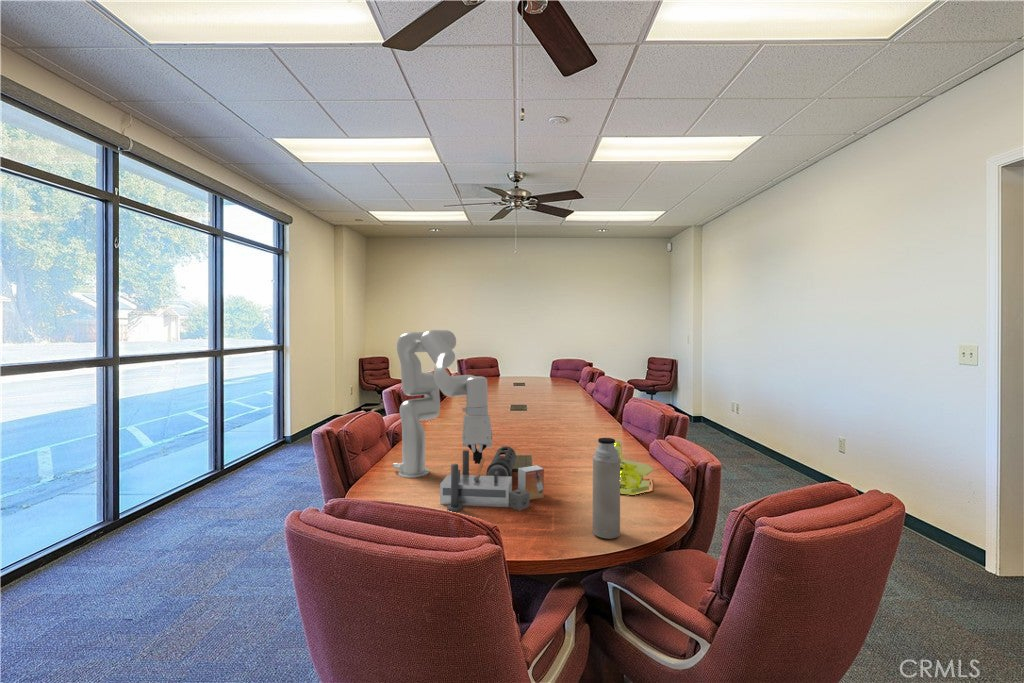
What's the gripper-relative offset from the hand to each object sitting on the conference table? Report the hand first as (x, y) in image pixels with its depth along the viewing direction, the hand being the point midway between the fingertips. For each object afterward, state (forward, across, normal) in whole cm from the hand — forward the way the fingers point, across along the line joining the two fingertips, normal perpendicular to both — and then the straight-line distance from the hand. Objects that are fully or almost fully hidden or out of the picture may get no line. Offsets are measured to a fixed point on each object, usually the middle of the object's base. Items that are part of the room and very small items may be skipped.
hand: (477, 462), depth 156 cm
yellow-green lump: (+14, +56, +24) cm, 62 cm away
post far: (+13, -7, +10) cm, 18 cm away
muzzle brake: (+14, +5, +25) cm, 29 cm away
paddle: (+5, 0, 0) cm, 5 cm away
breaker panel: (+13, -1, +1) cm, 13 cm away
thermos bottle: (+15, +43, -21) cm, 50 cm away
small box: (+14, +18, +6) cm, 24 cm away
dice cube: (+14, +15, -4) cm, 21 cm away
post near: (+13, -6, -8) cm, 17 cm away
